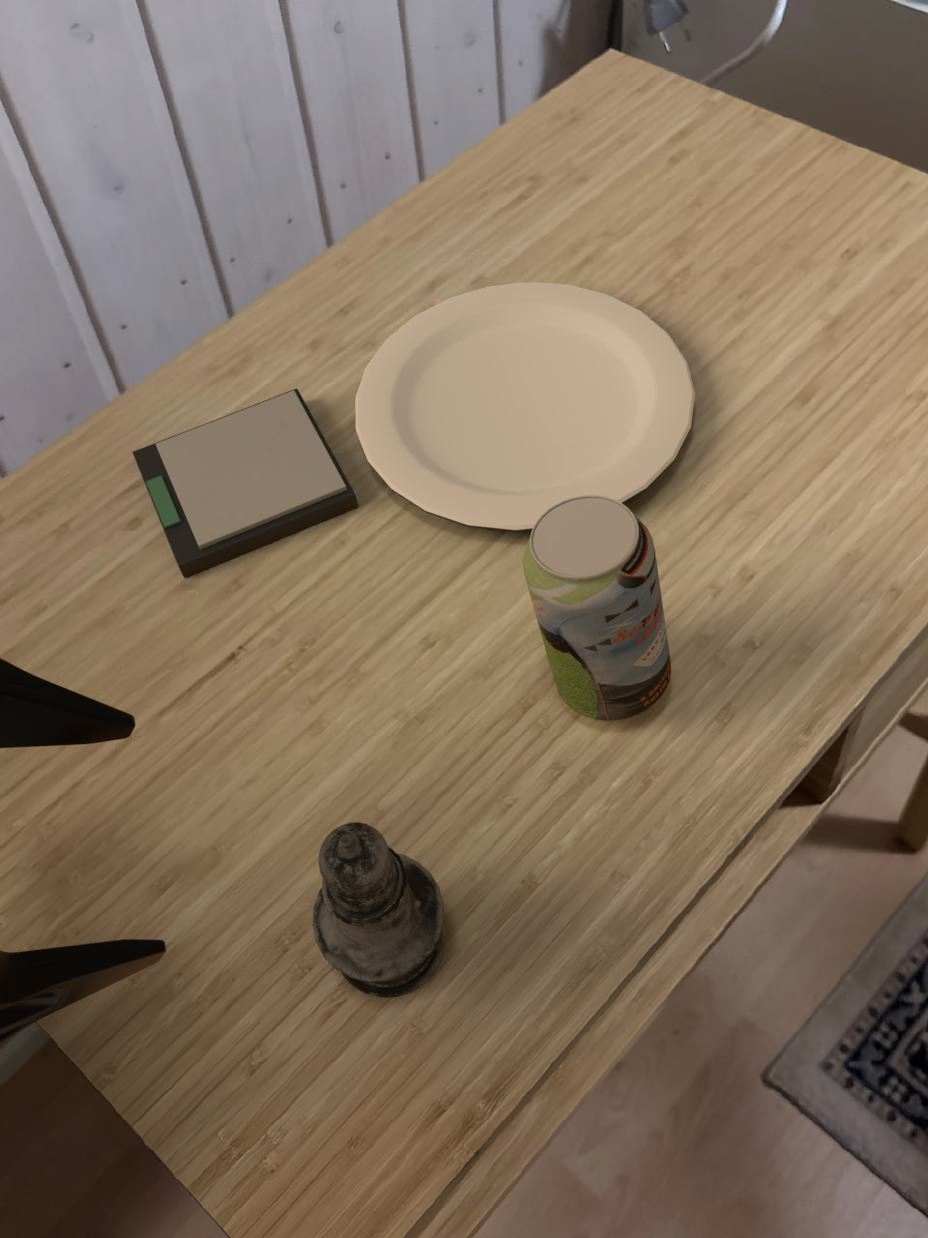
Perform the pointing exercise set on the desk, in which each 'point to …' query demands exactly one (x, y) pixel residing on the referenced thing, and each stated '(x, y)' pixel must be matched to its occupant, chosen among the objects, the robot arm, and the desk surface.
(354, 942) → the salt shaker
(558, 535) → the beverage can
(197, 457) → the scale
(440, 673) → the desk surface
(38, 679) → the robot arm
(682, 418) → the plate
